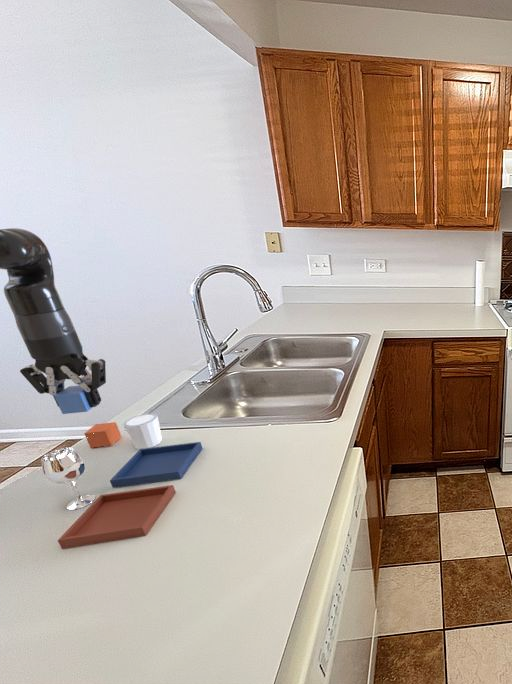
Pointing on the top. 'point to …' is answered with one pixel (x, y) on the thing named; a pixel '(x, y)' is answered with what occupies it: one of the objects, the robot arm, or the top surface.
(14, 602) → the top surface
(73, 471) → the wineglass
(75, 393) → the blue block
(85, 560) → the top surface
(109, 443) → the rust block
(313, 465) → the top surface
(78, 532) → the terracotta tray
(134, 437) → the white faceted cylinder
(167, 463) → the blue tray
